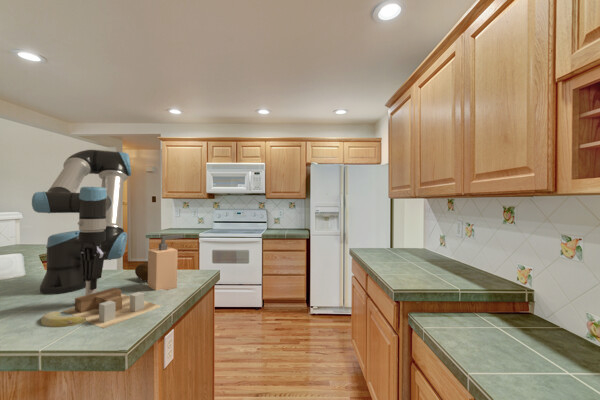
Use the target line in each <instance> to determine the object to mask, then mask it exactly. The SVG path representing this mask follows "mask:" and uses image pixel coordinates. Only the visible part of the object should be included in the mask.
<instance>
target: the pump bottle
mask: <svg viewBox="0 0 600 400" xmlns="http://www.w3.org/2000/svg"><path fill="white" fill-rule="evenodd" d="M160 237H161V240H160V242H159V243H158V248H153V249H148V250H147V251H148V253H147V261H148V281H147V286H148V288H151V289H152V290H154V291H160V290H162V291H163V290H164V291H170V290H174V289H177V288H178V253H179V252H178V249H176V248H173V247H168V243H166V241H167V240H176V239H184V234H182V233H181V234H173V235H172V234H171V235H161V236H160Z"/></svg>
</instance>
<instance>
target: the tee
mask: <svg viewBox="0 0 600 400" xmlns="http://www.w3.org/2000/svg"><path fill="white" fill-rule="evenodd" d="M121 294H122V289H120V288H118V287H111V288H108V289H104V290H100V291H97V292H96V293H93V294H89V295H86V294H85V295H82V296H77V297H75V298H74V307H75V311H78V312H80V313H83V312H86V311H89V310H92V309H98V310H99V304H100V303H104V302H107V301H113V302H116V307H115V311H118V310H121V309H122V297H121Z"/></svg>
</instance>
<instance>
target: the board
mask: <svg viewBox="0 0 600 400" xmlns="http://www.w3.org/2000/svg"><path fill="white" fill-rule="evenodd" d="M121 297H122V309H121V310H118V311H115V319H113V320H110V321H108V322H105V323H104V322H102V321H99V310H98V309H92V310H89V311H86V312H83V313H80V312H78V311H75V306H74V307H70V308H68V309H67V308H66V309H65V310H62V312H64V313H66V314H69V315H71V316H76V317H84V318H86V322H88V323H90V324H92V325H93V326H97V327H99V328H101V329H106V328H109V327H111V326H114V325H116V324H119V323H122V322H124V321H127V320H129V319H132V318H135V317H137V316H140V315H143V314H145V313H148V312H151V311H153V310H157V309H158V308H161V307H162V305H159V304H156V303H153V302H149V301H146V300H144V309H141V310H138V311H132V310H130V295H127V294H123V293H121Z"/></svg>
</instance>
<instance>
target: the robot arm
mask: <svg viewBox="0 0 600 400" xmlns="http://www.w3.org/2000/svg"><path fill="white" fill-rule="evenodd" d="M89 174H90V175H98V177H99V178H100V179H101V185H100V187H99V186H82V187H80V185H81V183H82V181H83V180H84V179H85V177H86V176H88V175H89ZM130 176H132V169H131V158H130V155H129V153H127V152H123V151H110V150H100V149H85V150H81V151H78V152H76V153H74V154H71V155H70V156H68V157H67V159H66V160H65V161H64V162H63V168H62V170H61V171H60V173H59V174H58V175H57V178H56V179H55V181H54V182H53V183H52V184H51V186H50V187H49V189H48V190H47V191H37V192H34V193H33V195H32V198H31V207H32V210H33V211H34V212H36V213H39V214H41V213H42V214H44V213H45V214H69V213H70V214H78V215H79V216H78V222H77V225H78V230H72V231H64V232H59V233H54V234H50V236H49V237H48V238H47V242H46V272H45V274H44V275H43V276H44V277H43V279H42V281H41V283H40V286H39V292H40V294H43V295H44V294H45V295H54V294H55V295H57V294H58V295H59V294H64V293H70V292H71V293H72V292H74V291H78V290H81V289H84V288H85V295H89V294H93V293H96V292H98V280H99V279H101V278H102V273H103V267H104V261H111V260H117V259H121V258H122V257H123V256H124V255H125V252H126V249H127V242H128V241H127V240H128V233H127V232H125V230H124V228H123V227H122V226H121V221H122V206H123V197H124V196H123V194H124V191H123V190H124V183H125V182H126V181H127V180H128V177H130ZM79 187H80V188H79ZM78 189H79V192H77V190H78Z"/></svg>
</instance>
